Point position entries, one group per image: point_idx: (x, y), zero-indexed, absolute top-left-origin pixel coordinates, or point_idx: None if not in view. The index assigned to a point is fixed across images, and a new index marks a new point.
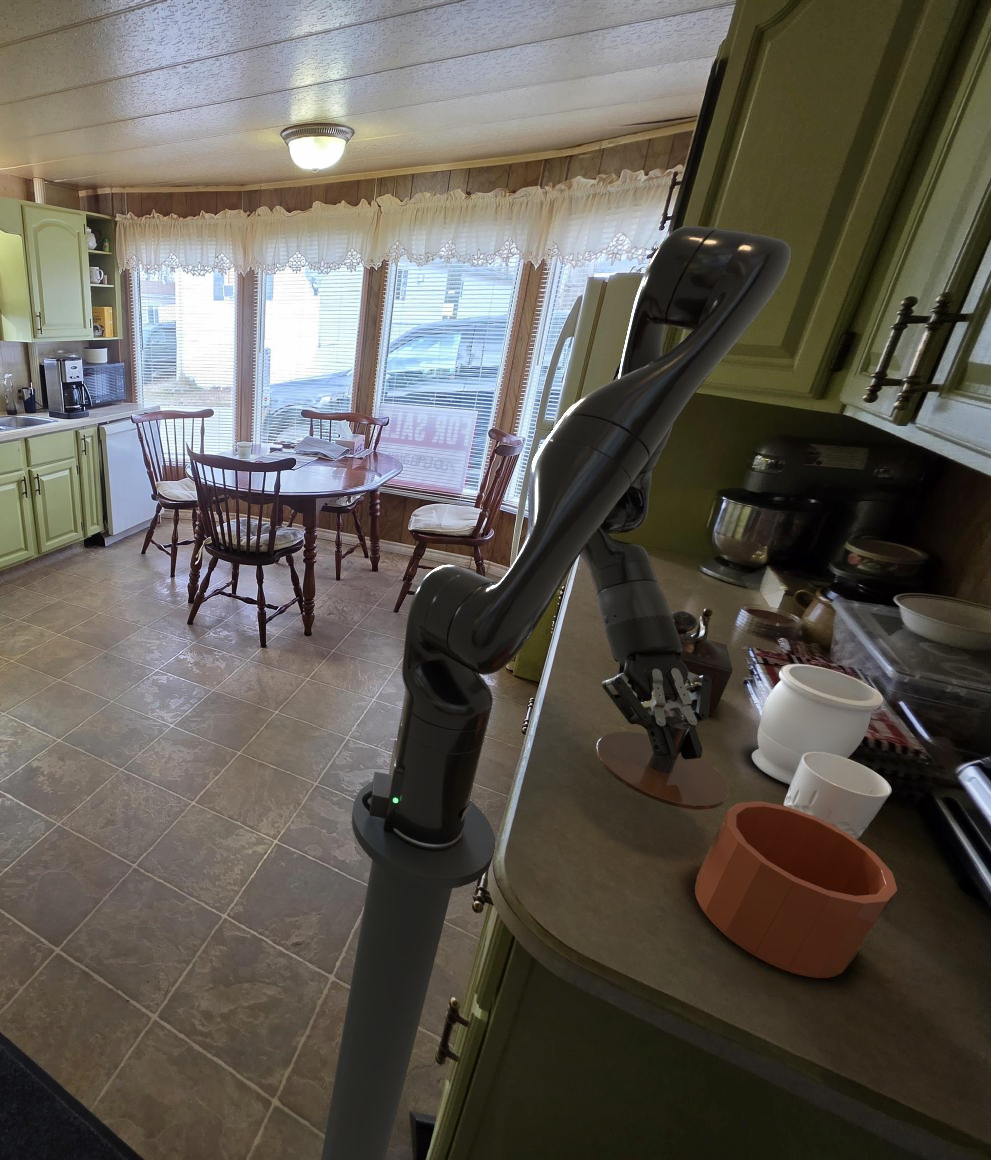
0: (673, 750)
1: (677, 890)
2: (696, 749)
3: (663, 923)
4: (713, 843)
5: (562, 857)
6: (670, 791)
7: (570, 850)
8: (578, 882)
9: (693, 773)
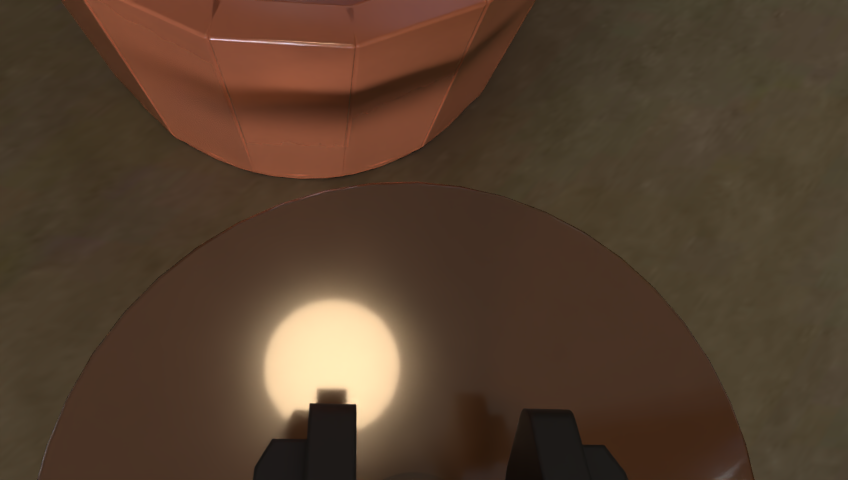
0: (558, 442)
1: (521, 124)
2: (340, 443)
3: (666, 24)
4: (468, 68)
5: (836, 309)
6: (540, 307)
7: (789, 337)
8: (841, 202)
9: (246, 450)
